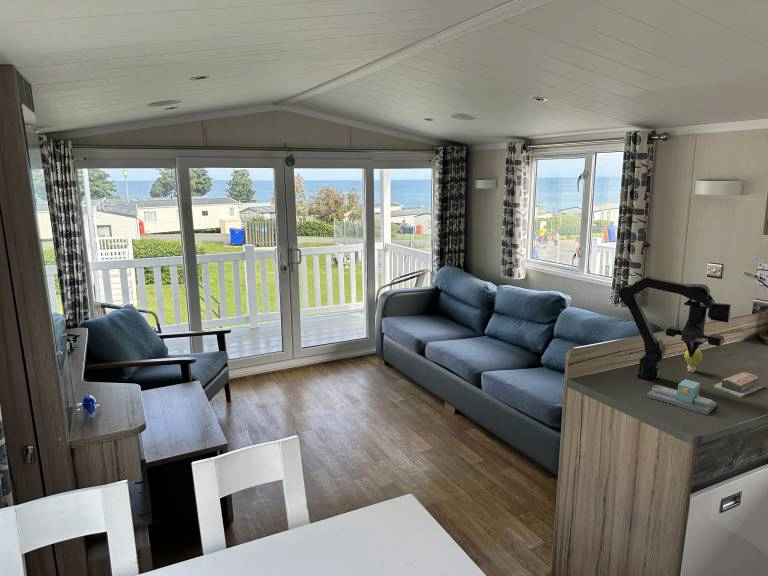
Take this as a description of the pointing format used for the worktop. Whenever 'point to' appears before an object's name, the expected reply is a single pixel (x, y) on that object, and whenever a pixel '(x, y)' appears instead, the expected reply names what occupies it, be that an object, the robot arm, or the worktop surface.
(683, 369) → the worktop surface
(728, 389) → the packaged product
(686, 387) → the block
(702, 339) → the robot arm
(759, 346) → the worktop surface
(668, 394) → the din rail
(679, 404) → the plate
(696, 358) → the light bulb
